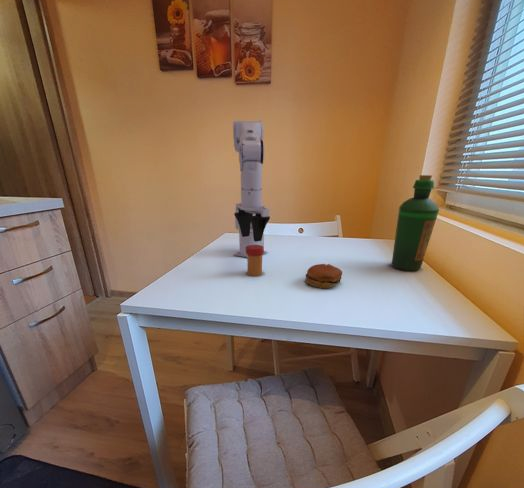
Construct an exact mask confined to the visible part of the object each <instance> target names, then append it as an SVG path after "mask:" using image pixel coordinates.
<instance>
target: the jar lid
mask: <svg viewBox="0 0 524 488" xmlns="http://www.w3.org/2000/svg"><path fill="white" fill-rule="evenodd" d="M264 251H265V246H264V247H263V246H261V245H248V246H246V254H247V255H251V256H259V255H262V256H263V255H264V254H265V253H264Z"/></svg>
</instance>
